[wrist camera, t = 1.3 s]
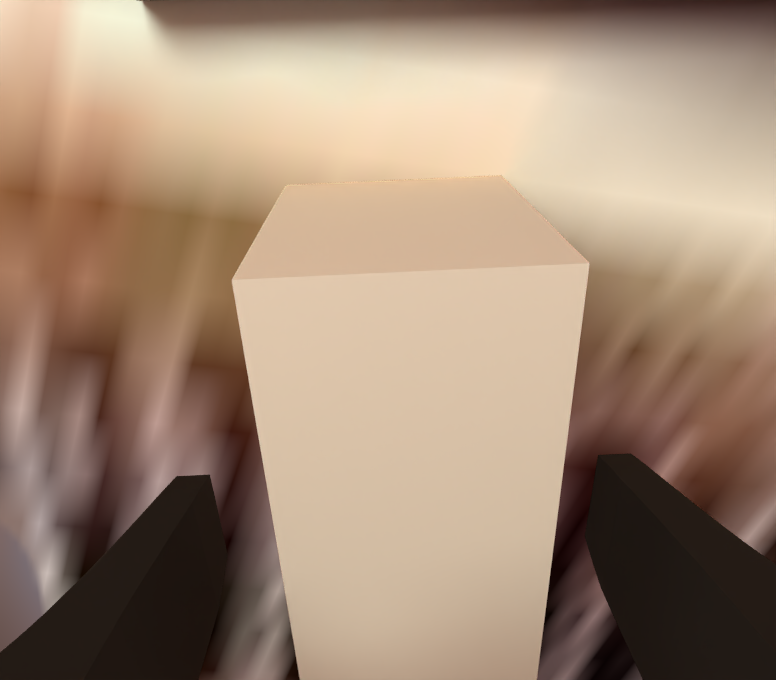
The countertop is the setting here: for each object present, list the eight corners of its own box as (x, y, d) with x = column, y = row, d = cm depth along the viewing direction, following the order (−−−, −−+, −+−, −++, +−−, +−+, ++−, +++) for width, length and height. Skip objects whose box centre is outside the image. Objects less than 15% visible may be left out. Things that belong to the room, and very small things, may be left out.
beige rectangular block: (286, 182, 11) (232, 279, 6) (499, 173, 11) (590, 263, 7) (333, 589, 16) (321, 801, 12) (479, 582, 16) (522, 790, 12)
